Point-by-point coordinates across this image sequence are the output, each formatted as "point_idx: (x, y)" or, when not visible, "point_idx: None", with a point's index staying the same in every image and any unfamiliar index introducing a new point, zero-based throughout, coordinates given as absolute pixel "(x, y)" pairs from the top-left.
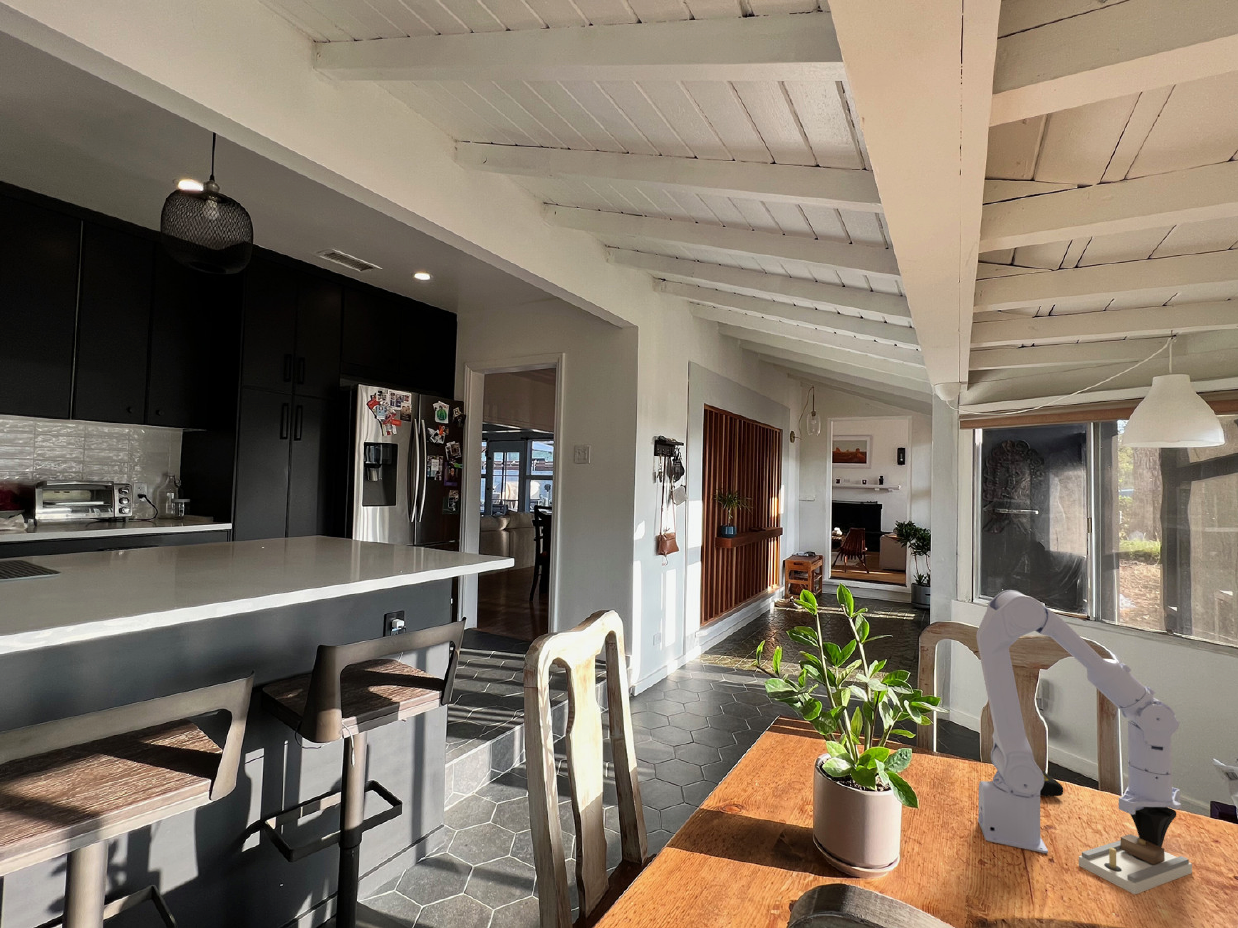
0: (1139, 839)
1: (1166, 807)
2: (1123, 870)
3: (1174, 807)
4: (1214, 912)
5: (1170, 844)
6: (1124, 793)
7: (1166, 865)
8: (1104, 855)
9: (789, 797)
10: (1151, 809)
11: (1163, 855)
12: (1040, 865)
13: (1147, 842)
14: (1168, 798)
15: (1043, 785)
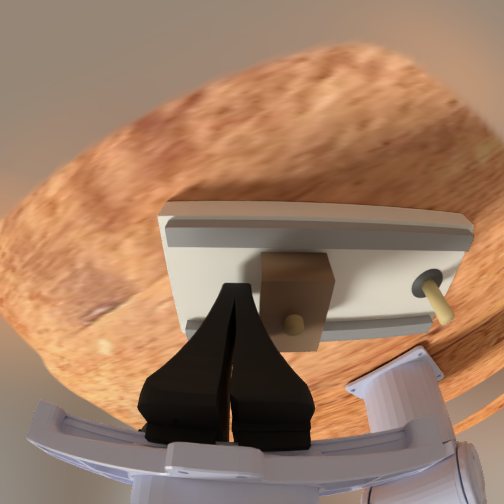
0: (299, 332)
1: (153, 419)
2: (422, 268)
3: (257, 458)
4: (379, 68)
5: (81, 289)
6: (347, 490)
7: (304, 234)
8: (376, 317)
9: (468, 419)
10: (271, 433)
11: (266, 264)
12: (466, 323)
13: (271, 317)
14: (238, 502)
15: None
